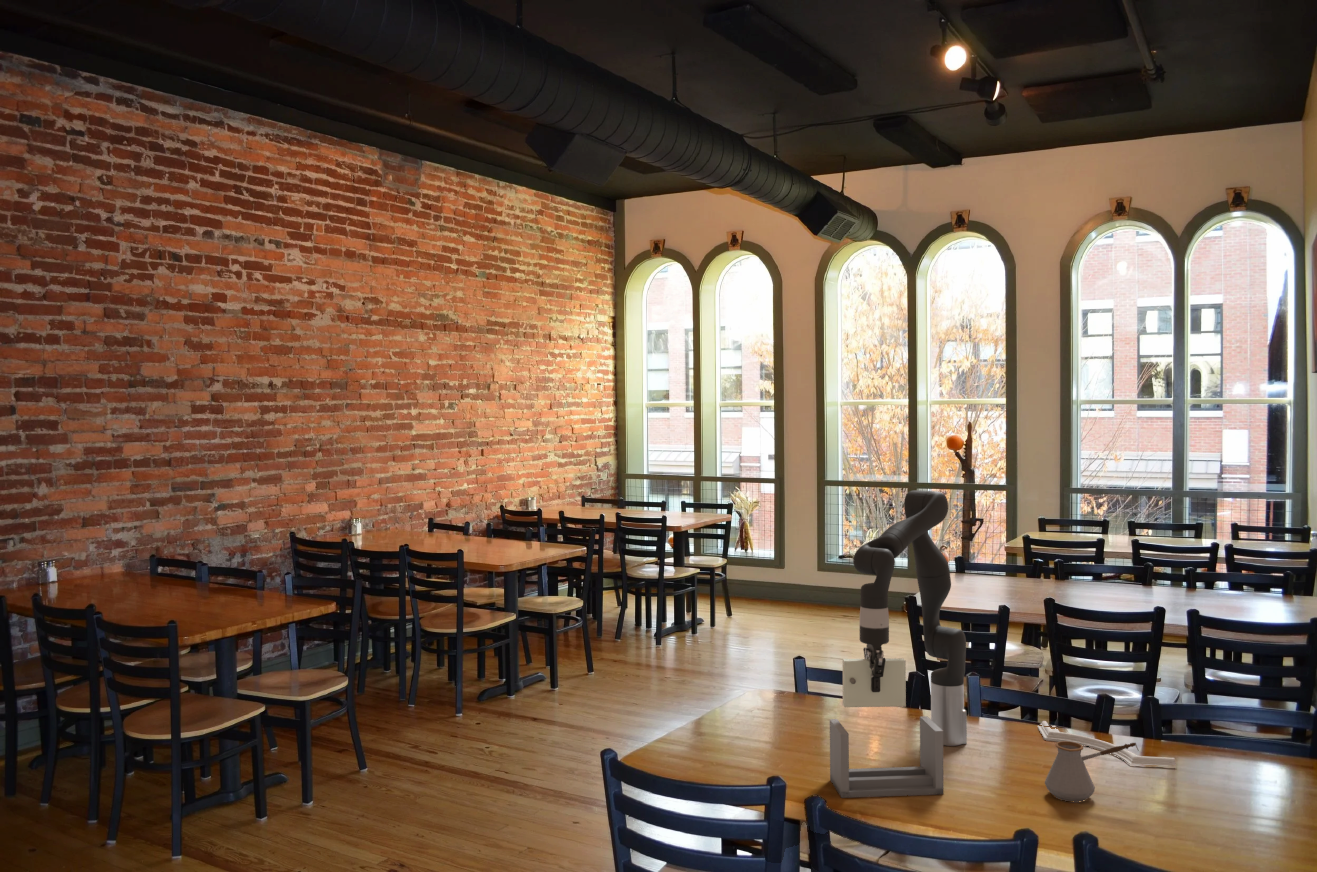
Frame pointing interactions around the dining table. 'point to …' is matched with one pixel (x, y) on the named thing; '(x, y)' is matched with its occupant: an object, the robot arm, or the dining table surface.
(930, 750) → the grey rack
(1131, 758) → the molding
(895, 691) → the door panel
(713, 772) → the dining table surface
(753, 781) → the dining table surface
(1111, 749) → the coffee pot
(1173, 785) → the dining table surface
